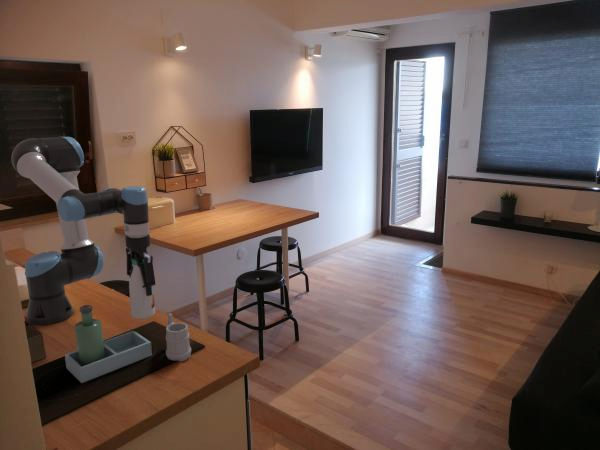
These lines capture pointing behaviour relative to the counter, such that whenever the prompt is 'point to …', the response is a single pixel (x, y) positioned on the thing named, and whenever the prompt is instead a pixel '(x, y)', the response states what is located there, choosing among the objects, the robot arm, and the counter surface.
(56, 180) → the robot arm
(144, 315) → the milk bottle
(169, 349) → the mug
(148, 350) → the crate
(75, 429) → the counter surface
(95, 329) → the green bottle
